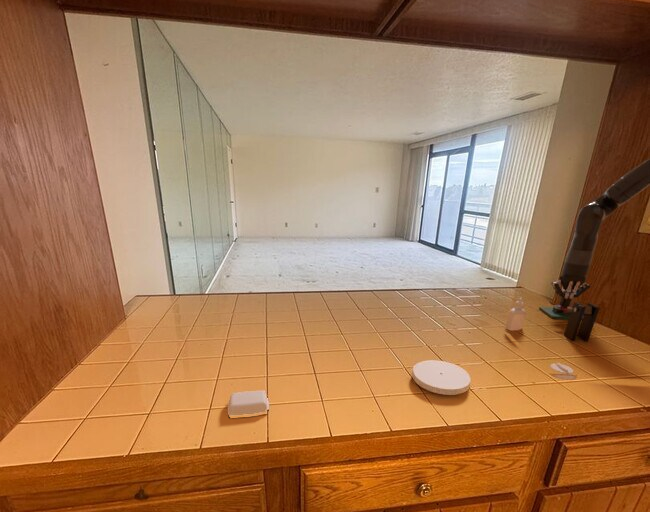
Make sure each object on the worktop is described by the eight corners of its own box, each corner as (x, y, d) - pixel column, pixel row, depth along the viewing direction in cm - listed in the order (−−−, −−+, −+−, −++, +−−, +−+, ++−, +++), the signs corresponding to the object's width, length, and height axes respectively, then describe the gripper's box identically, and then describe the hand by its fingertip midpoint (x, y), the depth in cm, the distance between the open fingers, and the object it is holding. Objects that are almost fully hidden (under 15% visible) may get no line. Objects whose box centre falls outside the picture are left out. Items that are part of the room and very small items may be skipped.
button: (564, 310, 132) (566, 305, 131) (570, 313, 129) (571, 309, 128) (555, 309, 132) (556, 305, 132) (560, 313, 129) (561, 308, 128)
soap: (268, 396, 81) (267, 386, 80) (270, 415, 75) (269, 403, 74) (228, 400, 79) (227, 390, 78) (227, 419, 73) (225, 408, 72)
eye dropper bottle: (523, 334, 116) (532, 301, 111) (505, 333, 117) (513, 299, 112) (519, 329, 120) (527, 296, 115) (501, 328, 121) (509, 295, 116)
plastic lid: (431, 362, 97) (432, 355, 96) (479, 384, 88) (481, 375, 87) (400, 380, 89) (401, 371, 88) (450, 405, 79) (452, 396, 78)
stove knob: (565, 366, 97) (567, 359, 96) (583, 380, 90) (585, 373, 90) (539, 365, 97) (541, 359, 96) (555, 379, 90) (557, 373, 89)
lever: (554, 314, 119) (554, 307, 119) (569, 315, 119) (569, 308, 119) (579, 313, 106) (579, 305, 106) (596, 314, 106) (596, 306, 106)
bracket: (553, 334, 117) (564, 298, 112) (578, 336, 116) (590, 300, 111) (570, 348, 107) (582, 309, 103) (597, 349, 107) (611, 311, 102)
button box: (569, 313, 136) (572, 304, 134) (585, 323, 126) (588, 313, 125) (538, 312, 136) (540, 302, 135) (550, 321, 127) (553, 311, 126)
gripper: (564, 263, 120) (550, 309, 127) (604, 265, 119) (588, 311, 126) (553, 258, 127) (540, 303, 134) (590, 260, 126) (576, 304, 133)
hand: (563, 307), depth 130 cm, fingers closed
